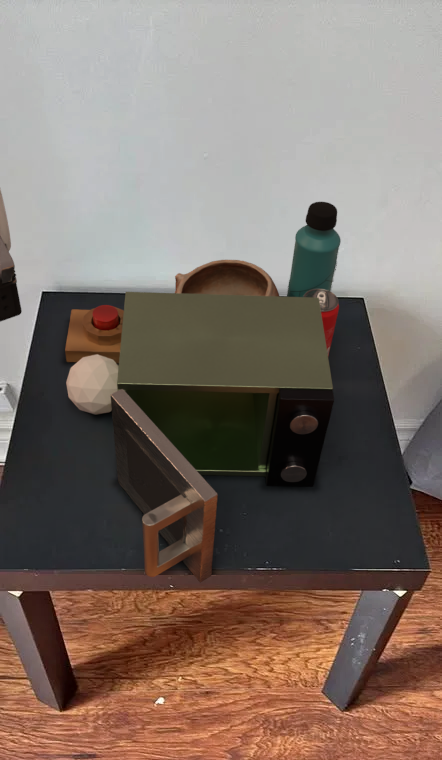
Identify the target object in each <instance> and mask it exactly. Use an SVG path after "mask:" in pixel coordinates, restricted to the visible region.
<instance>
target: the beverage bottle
mask: <svg viewBox="0 0 442 760" xmlns="http://www.w3.org/2000/svg"><path fill="white" fill-rule="evenodd" d="M337 221H338V209H337V207H336V206H335V205H334V204H332V203H331V202H327V201H315V202H313V203H311V204H310V205H309V206H308V209H307V213H306V215H305V224H306V225H304V226H301V228H299V229H298V230H297V231H296V233H295V237H294V238H295V240H294V247H293V248H294V249H293V255H292V260H291V261H292V262H291V269H290V274H289V279H288V286H287V289H286V290H287V291H286V293H287V294H286V297H303V296H304V294H305V293H306V292H307V291H309V290H312V289H325V290H328V291H330V292H332V288H333V282H334V277H335V275H336V274H335V272H336V271H337V267H338V266H337V265H338V256H339V249H340V246H341V241H342V239H341V236H340V234H339V233H338V232H337V231H336V230H335V229H334V228H336V226H337Z"/></svg>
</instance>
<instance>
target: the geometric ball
mask: <svg viewBox="0 0 442 760" xmlns="http://www.w3.org/2000/svg"><path fill="white" fill-rule="evenodd" d="M118 368H119V364H118V363H116V362H115V361H114V360H113V359H110V358H107V357H104V356H101V355H98V354H97V355H92V356H87V357H83V358H82V359H80V360H79V361H78V362H75V363H74V364H73V365H72V366H71V367H70V368H69V372H68V375H67V379H66V382H65V384H66V390H67V391H66V392H67V394H68V395H67V396H68V399H69V400H70V401H71V402H72V403H73V405H75V407H76V408H77V409H78V410H79V411H82V412H84V413H89V414H92V415H102V414H108V413H110V412H112V407H111V395H110V394H112V393H114V392H116V391H118V389H117V378H118Z"/></svg>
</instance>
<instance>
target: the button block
mask: <svg viewBox="0 0 442 760" xmlns="http://www.w3.org/2000/svg"><path fill="white" fill-rule="evenodd" d="M114 307H115V308H116V309H117V311H118V318H119V324H118V326H117V327H116V328H114V329H112V330H99V329H97V328H96V327H95V326H94V324H93V315H92V313H93V310H94V309H95V308H96V307H94V308H91V309H74V308H73V309H71V311H70V318H69V324H68V330H67V336H66V341H65V342H66V343H65V349H64V353H65V359H66V360H65V361H66V362H67V363H77V362H78V361H79V360H80V359H82V358H83V357H87V356H92V355H97V354H98V355H101V356H104V357H107V358H110V359H113V360H114V361H115V362H116V364H119V357H120V346H121V336H122V325H123V315H124V309H122V308H119V307H116V306H114Z"/></svg>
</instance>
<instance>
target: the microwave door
mask: <svg viewBox="0 0 442 760" xmlns="http://www.w3.org/2000/svg"><path fill="white" fill-rule="evenodd" d="M110 395H111V407H112V410H111V416H112V427H113V428H112V429H113V439H114V449H115V451H114V452H115V461H116V462H115V463H116V471H117V483H118V484H119V485H120V487H121V488H122V490H123V491H125V493H126V494H127V496H128V497H129V498H130V499H131V500H132V501H133V503H134V504H135V505H136V506H137V508H138V509H139V510H140V512H142V513H143V516H142V517H141V526H142V544H143V545H142V546H143V547H142V548H143V565H144V573H145V575H146V576H147V577H150V578H154V577H156V576H158V575H160V574H162V573H164V572H165V571H167V570H169V569H170V568H172V567H174V566H176V565H177V564H179V563H180V562H183V564H184V565H185V566H186V567H187V569H188V570H189V571H190V572H191V573H192V575H193V576H194V577H195V579H197V581H198V582H199V583H202V582H204V581H206V580H207V579H209V578H210V577H212V569H213V557H214V546H215V533H216V532H215V531H216V521H217V509H218V508H217V507H218V498H219V497H218V496H219V494H218V492H216V490H215V489H214V488H213V486H211V484H210V483H208V481H207V480H206V479H205V477H203V475H200V474H199V473H198V472H197V470H196V469H195V468H194V467H193V466H192V465H191V464H190V463H189V462H188V461H187V459H186V458H185V457H184V456H183V455H182V454H181V453H180V452H179V451H178V449H177V448H176V447H175V446H174V445H173V444H172V443H171V442H170V441H169V439H168V438H167V437H166V436H165V435H164V434H163V433H162V432H161V431H160V430H159V428H158V427H157V426H156V425H155V424H154V423H153V422H152V421H151V420H150V418H149V417H148V416H147V415H146V414H145V413H144V412H143V411H142V410H141V408H140V407H139V406H138V405H137V404H136V403H135V402H134V401H133V400H132V399H131V397H130V396H129V395H128V394H127V393H126V392H125V391H124V390H123V389H121V390H119V391H116V392H114V393H112V394H110ZM159 535H160V536H161V537H162V539H164V540H165V542H166V543H167V544H168V546H166V547H165V548H163V549H161V550H160V545H159Z"/></svg>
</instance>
